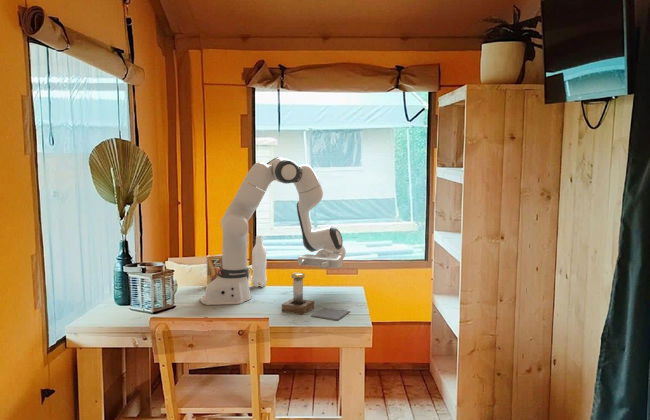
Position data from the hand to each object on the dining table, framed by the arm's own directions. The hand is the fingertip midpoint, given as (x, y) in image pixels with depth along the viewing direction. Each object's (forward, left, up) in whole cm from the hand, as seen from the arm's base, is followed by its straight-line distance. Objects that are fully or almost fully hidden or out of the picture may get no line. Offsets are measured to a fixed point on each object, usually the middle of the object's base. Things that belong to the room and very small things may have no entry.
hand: (311, 264), depth 229 cm
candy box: (-36, +41, -17) cm, 57 cm away
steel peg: (-9, -9, -17) cm, 21 cm away
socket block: (-9, -9, -17) cm, 21 cm away
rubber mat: (+2, -19, -17) cm, 26 cm away
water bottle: (-16, +34, -17) cm, 42 cm away
